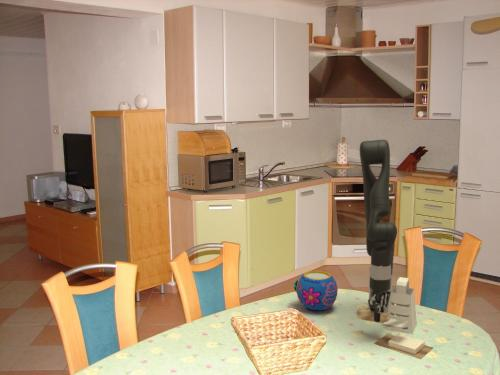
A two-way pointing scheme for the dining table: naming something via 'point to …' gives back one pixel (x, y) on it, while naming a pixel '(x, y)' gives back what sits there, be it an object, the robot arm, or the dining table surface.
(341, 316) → the dining table surface
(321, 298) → the ceramic pot
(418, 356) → the board
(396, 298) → the grater
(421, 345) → the tile
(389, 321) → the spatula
